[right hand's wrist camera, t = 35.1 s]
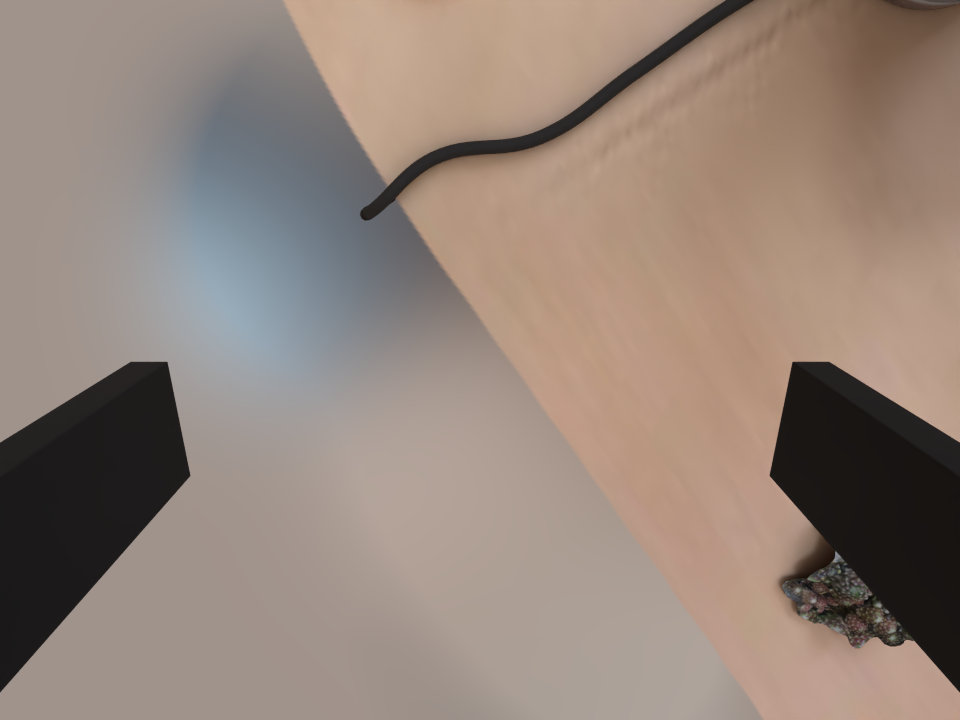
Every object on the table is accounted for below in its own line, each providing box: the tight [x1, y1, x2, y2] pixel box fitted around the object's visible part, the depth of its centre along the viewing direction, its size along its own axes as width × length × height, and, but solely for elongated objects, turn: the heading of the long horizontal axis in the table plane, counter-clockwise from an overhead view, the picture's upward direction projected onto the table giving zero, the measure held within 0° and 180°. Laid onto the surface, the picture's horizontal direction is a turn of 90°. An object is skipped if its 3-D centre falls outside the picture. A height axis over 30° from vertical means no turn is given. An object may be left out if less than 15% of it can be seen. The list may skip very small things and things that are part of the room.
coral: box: [782, 552, 914, 648], centre depth 56 cm, size 17×5×15 cm
